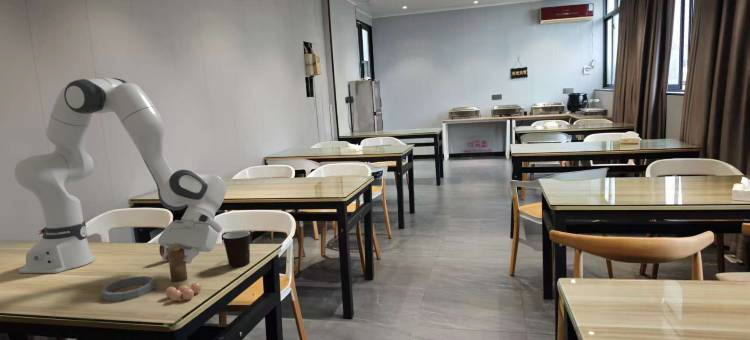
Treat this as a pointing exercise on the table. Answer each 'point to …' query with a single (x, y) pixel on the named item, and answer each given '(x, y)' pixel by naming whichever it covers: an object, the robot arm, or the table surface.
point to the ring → (128, 294)
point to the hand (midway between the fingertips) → (175, 261)
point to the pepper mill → (177, 263)
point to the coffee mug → (237, 248)
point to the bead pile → (183, 292)
